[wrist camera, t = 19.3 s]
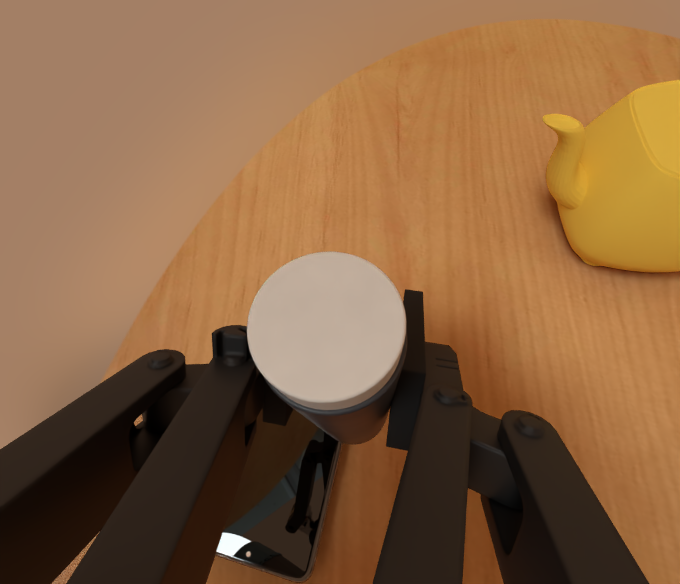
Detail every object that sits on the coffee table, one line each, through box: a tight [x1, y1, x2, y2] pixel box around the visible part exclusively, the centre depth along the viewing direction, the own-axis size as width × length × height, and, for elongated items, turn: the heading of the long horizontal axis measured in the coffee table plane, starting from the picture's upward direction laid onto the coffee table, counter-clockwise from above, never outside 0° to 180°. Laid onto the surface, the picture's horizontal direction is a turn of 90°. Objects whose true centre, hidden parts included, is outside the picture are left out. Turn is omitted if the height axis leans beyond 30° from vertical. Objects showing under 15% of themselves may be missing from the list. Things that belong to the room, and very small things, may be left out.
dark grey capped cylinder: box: [247, 252, 407, 444], centre depth 13 cm, size 3×3×13 cm
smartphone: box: [215, 408, 343, 583], centre depth 24 cm, size 7×1×16 cm
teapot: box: [543, 80, 680, 272], centre depth 24 cm, size 18×11×11 cm, turn 87°
